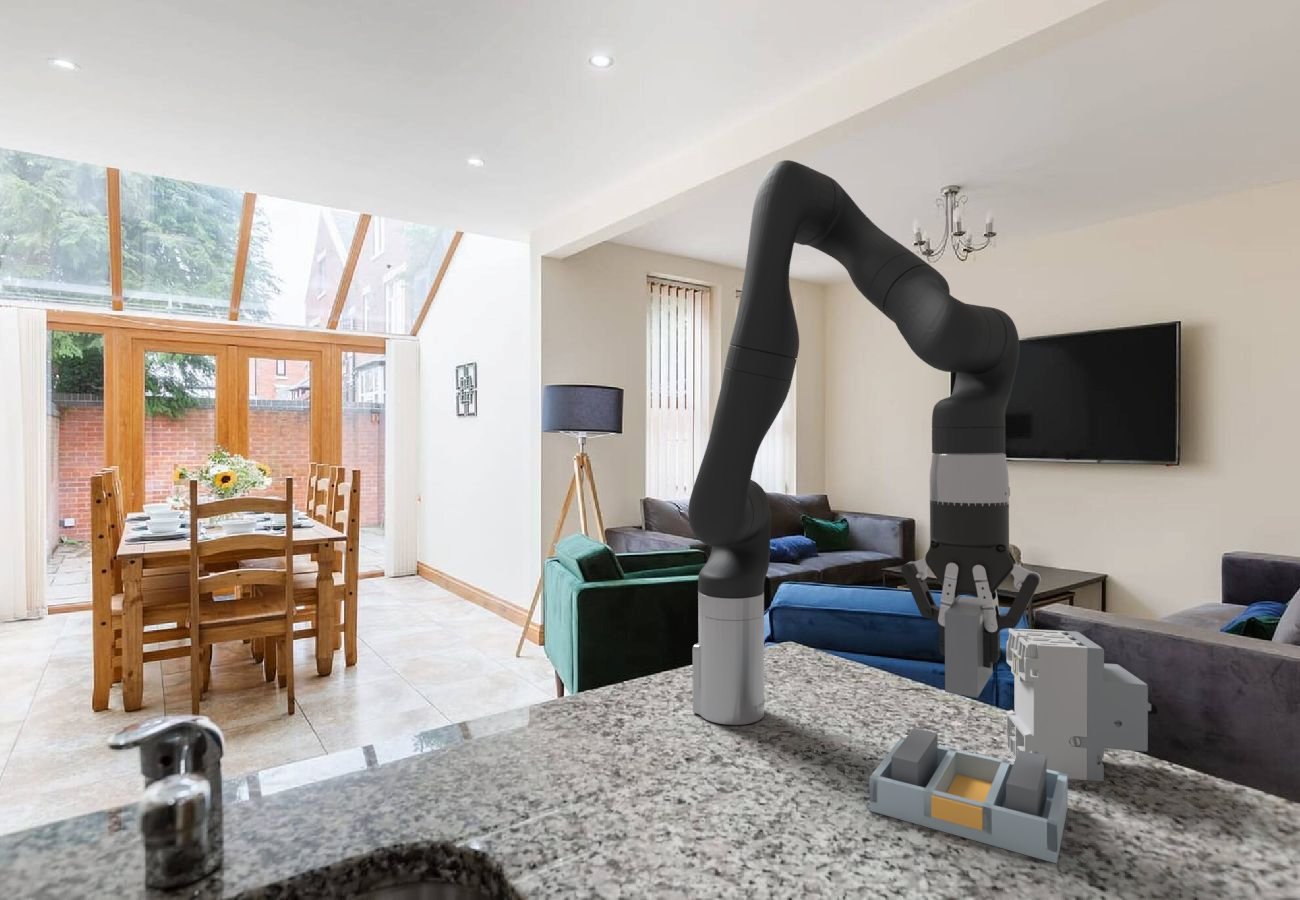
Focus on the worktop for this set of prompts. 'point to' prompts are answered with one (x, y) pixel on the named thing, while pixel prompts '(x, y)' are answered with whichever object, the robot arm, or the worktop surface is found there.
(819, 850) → the worktop surface
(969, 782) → the rack
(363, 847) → the worktop surface
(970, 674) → the rectangular block
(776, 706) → the worktop surface
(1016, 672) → the circuit breaker
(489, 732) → the worktop surface
